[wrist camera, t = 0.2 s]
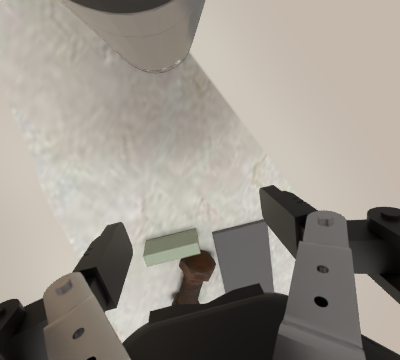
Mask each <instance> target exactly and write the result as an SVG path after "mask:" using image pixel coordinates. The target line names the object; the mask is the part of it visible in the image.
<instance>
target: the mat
mask: <svg viewBox="0 0 400 360" xmlns="http://www.w3.org/2000/svg"><path fill="white" fill-rule="evenodd" d="M212 233H213V238H214V242H215V247H216V251H217V256H218V260H219V265H220V269H221V274H222V278H223V283H224V287H225V292H226V293H228V292H230V291H232V290H234V289H238V288H242V287H246V286H249V285H253V284H257V283H260V285H261V287H262V289H263V291H264V292H274V288H273V278H272V267H271V257H270V247H269V237H268V226H267V224H266V222H265V220H260V221H256V222H252V223H248V224H244V225H240V226H236V227H232V228H228V229H224V230H220V231H216V232H212Z"/></svg>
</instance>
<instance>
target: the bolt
mask: <svg viewBox="0 0 400 360" xmlns="http://www.w3.org/2000/svg"><path fill="white" fill-rule="evenodd" d="M215 266H216V263H215V261H214V259H213V258H212V256H211V255H210V254H208V253H207V252H204V251H202V250H200V254H196V255H192V256H188V257H184V258H181V260H180V264H179V267H180V268H181V269H182V271H183V272H184V274H185V275H184V279H183V283H182V287H181V290H180V293H178V295H177V296H176V298H175V299H174V301H173V303H172V306H173V305H177V304H200V303H199V301H198V297H199V293H200V289H201V287H202V284H203V281H209V279H210V277H211V275H212V273H213V271H214V269H215Z"/></svg>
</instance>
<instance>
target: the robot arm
mask: <svg viewBox="0 0 400 360" xmlns="http://www.w3.org/2000/svg"><path fill="white" fill-rule="evenodd" d="M59 1H60V2H62V3H63V4H64V5H65V6H66V7H67V8H69V9H70V10H71V11H72V12H73V13H74V14H75V15H77V16H78V17H79V18H80V19H81V20H82V21H83V22H84V23H85V24H87V25H88V26H89V27H90V28H91V29H92V30H93V31H94V32H96V33H97V34H98V35H99V36H100V37H101V38H102V39H103V40H104V41H106V42H107V43H108V44H109V45H110V46H111V47H112V48H113V49H115V50H116V51H117V52H118V53H119V54H120V55H121V56H122V57H124V58H125V59H126V60H127V61H128V62H129V63H130V64H132V65H133V66H135V67H137V68H138V69H141V70H143V71H146V72H152V73H161V72H166V71H169V70H171V69H173V68H175V67H176V66H178V65H179V64H180V63H181V62H182V61H183V60H184V59H185V57H186V55H187V54H188V52H189V50H190V47H191V44H192V42H193V39H194V36H195V32H196V29H197V26H198V23H199V20H200V16H201V13H202V9H203V6H204V3H205V0H59ZM259 193H260V201H261V209H262V215H263V218H264V220H265V222H266V224H267V225H268V226H269V227H270V229H271V230H272V231H273V232H274V233H275V235H276V236H277V237H278V238H279V240H280V241H281V242H282V243H283V245H284V246H285V247H286V248H287V249H288V251H289V252H290V253H291V254H292V256H293V257H294V258H295V259H296V261H295V266H294V271H293V276H292V281H291V286H290V291H289V296H287V295H284V294H280V293H275V292H264V291H263V289H262V287H261V285H260V283H257V284H253V285H249V286H246V287H242V288H238V289H234V290H232V291H230V292H228V293H226V294H224V295H222V296H220V297H218V298H216V299H215V300H213V301H211V302H209V303H206V304H177V305H173V306H169V307H165V308H162V309H158V310H154V311H150V316H149V322H148V323H147V324H145V325H143V326H142V327H140V328H139V329H137V330H136V331H135V332H134V333H132V334H131V335H130V336H129V337H128V338H127V339H126V340H125V341H124V342H123V343H121V341H120V339H119V338H118V336H117V334H116V332H115V331H114V329H113V327H112V325H111V324H110V322H109V320H108V318H107V317H106V315H105V311H107V310H111V309H115V308H117V305H118V301H119V298H120V295H121V292H122V288H123V285H124V282H125V279H126V275H127V272H128V269H129V266H130V262H131V259H132V256H133V249H132V245H131V242H130V239H129V237H128V234H127V232H126V229H125V227H124V225H123V223H122V222H119V223H115V224H111V225H107V226H106V228H105V229H104V231H103V233H102V234H101V236H99V237H98V238H96V239H95V240H94V241H93V242H92V243H91V244H90V246H89V247H88V249H87V251H86V252H85V254H84V256H83V257H82V258H81V260H80V261H79V263H78V264H77V266H76V267H75V269H74V270H73V272H72V273H70V274H67V275H65V276H63V277H61V278H59V279H58V280H56V281H55V282H54V283H52V284H51V285H50V286H49V287H48V288H47V289H46V291H45V292H44V295H43V298H42V299H40V300H38V301H36V302H34V303H31V304H29V305H27V306H25V307H23V306H22V304H21V303H20V301H19V300H18V299H11V300H7V301H5V302H2V303H0V360H400V355H399V354H397V353H395V352H393V351H391V350H390V349H388V348H386V347H384V346H382V345H380V344H379V343H377V342H375V341H373V340H371V339H369V338H367V337H366V336H364V335H362V334H361V331H360V322H359V313H358V304H357V295H356V287H355V278H354V273H357V274H368V275H369V276H370V277H371V278H372V279H373V280H374V281H375V282H376V283H377V284H378V285H380V286H381V287H382V288H383V289H384V290H385V291H386V292H387V293H388V294H389V295H390V296H391V297H393V298H394V299H395V300H396V301H397V302H398V303H399V304H400V209H398V208H392V207H376V208H373V209H370V210H369V211H368V213H367V220H346V219H345V218H344V217H343V216H342V215H340V214H338V213H336V212H332V211H318V210H316V209H315V208H313V207H312V206H310V205H309V204H307V203H306V202H304V201H303V200H302V199H300V198H299V197H297V196H296V195H295V194H293V193H290V192H287V191H281V190H279V189H278V188H277V187H275V186H274V185H271V186H267V187H263V188H260V190H259Z"/></svg>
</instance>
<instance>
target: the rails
mask: <svg viewBox="0 0 400 360" xmlns="http://www.w3.org/2000/svg"><path fill="white" fill-rule="evenodd" d="M196 254H200V247H199V242H198V237H197V233H196V229H192V230H188V231H184V232H180V233H176V234H172V235H168V236H164V237H160V238H155V239H151V240H147V241H146V244H145V249H144V254H143V257H144V260H145V262H146V265H147V267H149V266H153V265H157V264H161V263H165V262H168V261H172V260H176V259H180V258H184V257H188V256H192V255H196Z"/></svg>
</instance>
